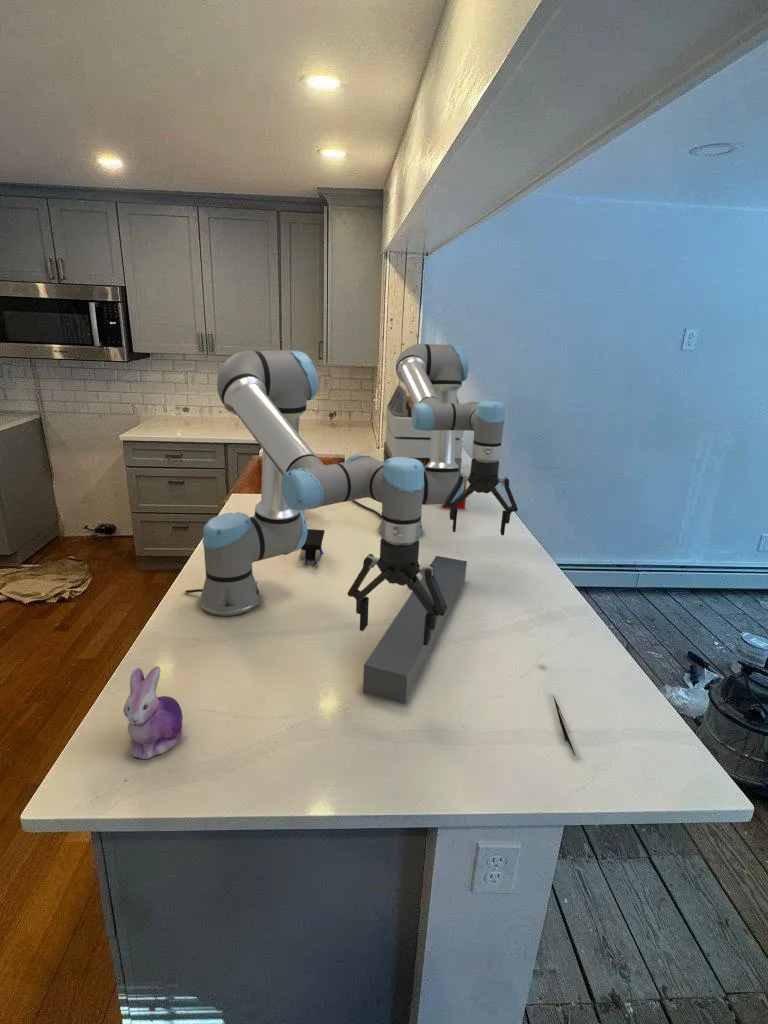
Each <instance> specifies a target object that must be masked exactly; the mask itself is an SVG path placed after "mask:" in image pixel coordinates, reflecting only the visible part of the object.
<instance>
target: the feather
mask: <svg viewBox="0 0 768 1024" xmlns="http://www.w3.org/2000/svg"><path fill="white" fill-rule="evenodd" d="M552 697H553V701H554V704H555V708H556V712H557V716H558V721H559V724H560V727H561V730H562V734H563V737H564V738H563V739H564V742H565V744H566V743H568V745H569V747H570V749H571V751H572V753H573V756H576V753H575V750H574V747H573V745H572V742H571V740H570V737H569V734H568V732H570V729H569V726H568V725H567V722H566V720H565V718H564V715H563V713H562V711H561V709H560V707H559V705H558V703H557V700H556V698H555V696H554V695H552ZM567 730H568V731H567ZM573 739H574V737H572V740H573ZM574 740H575V739H574ZM568 745H567V744H566V746H568ZM576 752H577V753H578V751H576ZM578 754H579V753H578Z"/></svg>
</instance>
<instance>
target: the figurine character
mask: <svg viewBox="0 0 768 1024" xmlns="http://www.w3.org/2000/svg"><path fill="white" fill-rule="evenodd" d="M325 531H326V530H325V529H312V528H308V532H307V538H306V541H305V543H304V545H303V546H302V548H300V555H299V561H300V562H304V566H308V563H309V562H310V563H311V562H312V563H313V566H314V567H316V566H317V564H318V562H320V561H321V557H322V556H323V555H324V551H323V539H324V536H325Z"/></svg>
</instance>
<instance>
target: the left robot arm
mask: <svg viewBox="0 0 768 1024" xmlns="http://www.w3.org/2000/svg"><path fill="white" fill-rule="evenodd" d="M318 379H319V378H318V373H317V370H316V367H315V366H314V363H313V361H312V359H311V358H310V357H309V356H308V354H307V353H305V352H303V351H299V350H288V349H281V350H279V349H278V350H246V351H245V350H244V351H243V350H242V351H240V352H237V353H235V354H233V355H231V356H230V357H229V358H227V359H226V360H225V362H224V363H223V364H222V365H221V367H220V369H219V371H218V374H217V379H216V380H217V381H216V390H217V394H218V397H219V400H220V401H221V403H222V405H223V406H224V407H225V409H226V410H227V411H228V413H230V414H232V415H234V416H237V417H238V418H239V419H240V421H241V422H242V424H243V425H244V426H245V428H246V429H247V430H248V432H249V433H250V434H251V436H252V437H253V438H254V439H255V441H256V442H257V443H258V445H259V446H260V447H261V450H262V463H261V466H262V467H261V492H260V493H261V495H260V497H261V498H260V501H259V502H257V504H256V505H255V506H254V515H253V516H249V514H247V513H244V512H226V513H222V514H219V515H217V516H214V517H212V518H210V519H209V520H208V521H207V522H206V523H205V524H204V527H203V530H202V531H203V535H202V537H203V538H202V546H203V554H204V567H205V580H204V584H203V587H202V588H199V589H188V590H187V589H186V590H185V591H184V592H185V594H190V593H200V600H199V601H200V607H201V609H202V610H203V611H204V612H206V613H207V614H210V615H213V616H218V617H233V616H239V615H243V614H246V613H249V612H251V611H253V610H254V609H256V608H257V607H258V606H259V604H260V603H261V591H260V589H259V586H258V585H259V580H256V579H255V576H254V574H253V563H255V562H259V561H262V560H263V561H264V560H267V559H271V558H274V557H280V556H287V555H289V554H291V553H294V552H297V551H299V550H301V548H302V546H303V545H304V543H305V541H306V538H307V532H308V529H309V527H308V524H307V518H306V516H305V514H304V512H303V511H304V510H305V511H306V510H315V509H318V508H322V507H326V506H330V505H335V504H341V503H345V502H346V503H347V502H350V501H351V500H355V501H357V500H361V499H367V498H369V499H371V500H374V501H376V502H378V503H380V504H381V516H382V519H381V518H380V519H381V521H380V523H381V534H380V537H381V538H380V541H379V543H380V544H379V557H375V556H374V554H373V553H369V554H368V555H366V557H365V558H364V559H363V562H362V563H363V564H362V568H361V570H360V572H359V573H358V575H357V577H356V578H355V579H354V581H353V583H352V584H351V586H350V588H349V589H348V592H347V596H348V597H350V598H353V599H355V602H356V603H355V607H356V608H355V613H356V614H357V615H359V631H361V632H364V631H365V630H366V628H367V627H368V625H369V602H370V600H369V599H370V598H369V596H368V595H369V594H370V593H371V592H372V591H373V590H375V589H376V588H377V587H378V586H379V585H380V584H382V583H383V582H384V581H385V580H386V581H387V582H388V584H396V585H399V586H407V588H408V589H409V590H410V591H411V592H414V594H415V595H416V597H417V598H418V599H419V601H420V602H421V604H422V605H423V606H424V608H425V609H426V611H427V614H426V616H425V628H424V641H423V645H426V646H427V644H428V642H429V640H430V637H431V630H434V629H435V627H436V625H437V615H440V616H443V615H444V614H445V612H446V610H447V605H446V602H445V600H444V598H443V595H442V593H441V590H440V588H439V586H438V583H437V581H436V578H435V576H434V566H433V565H431V564H429V565H428V566H424V565H423V566H422V565H420V563H419V556H420V538H421V536H420V527H421V525H422V524H421V523H422V508H423V505H422V499H423V488H424V471H425V470H424V469H425V466H423V464H422V463H421V462H420V461H419V460H417V459H413V458H407V457H393V458H389V459H387V460H386V461H385V463H384V461H381V460H379V459H377V458H375V457H373V456H370V455H364V454H352V455H351V456H349V458H347V459H345V461H344V462H338V463H337V462H336V463H331V464H324V463H323V462H322V460H321V459H320V458H319V457H318V456H317V455H316V454H315V452H314V451H313V450H312V448H310V446H309V445H308V443H306V441H305V440H304V439H303V438H302V437H301V435H300V432H299V431H300V417H301V416H302V415H304V413H305V412H306V411H307V403H308V401H311V400H313V399H314V398H315V397H316V395H317V394H318V388H319V380H318ZM351 502H352V501H351ZM302 510H303V511H302ZM375 566H377V568H378V569H379V571H380V573H379V574H378V575H377V576H376V577H375V578H374V579H372V581H370V582H369V583H368V584H367V585H365V587H364V588H363V589H361V590H360V589H359V588H360V587H361V585H362V584H363V582H364V580H365V579H366V577H367V575H368V574H369V572H370V570H371V569H373V568H374V567H375ZM419 574H420V575H421V576H422V577H423V578H425V581H426V584H427V587H428V589H429V592H430V594H431V596H432V598H431V597H430V596H429V594H428V593H427V591H426V590H425V589H424V587H423V586H422V584H421V583H420V580H421V579H420V578H419V577H418V575H419ZM422 577H421V578H422ZM432 599H433V600H432Z"/></svg>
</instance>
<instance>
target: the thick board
mask: <svg viewBox="0 0 768 1024" xmlns="http://www.w3.org/2000/svg"><path fill="white" fill-rule="evenodd" d="M430 565H433V566H434V576H435V578H436V581H437V583H438V586H439V588H440V590H441V593H442V595H443V598H444V600H445V602H446V605H447V610H446V612H445V614H444V615H443V616H440V615H437V625H436V627H435V629H434V630H431V637H430V640H429V642H428V644H427V646H426V645H423V641H424V628H425V616H426V614H427V611H426V609H425V608H424V606H423V605H422V604H421V602H420V601H419V599H418V598H417V597H416V595H415V594H414V592H413V591H411V593H410V594H409V596H408V598H407V599H406V601H405V602H404V604H403V605H402V607H401V608H400V610H399V612H398V613H397V615H396V616H395V617H394V619H393V620H392V622H391V623H390V625H389V627H388V628H387V630H386V631H385V633H383V636H381V638H380V640H379V641H378V643H377V644H376V646H375V648H374V649H373V650H372V652H371V653H370V655H369V657H368V658H367V660H366V661H365V663H364V664H363V674H362V675H363V678H362V679H363V680H362V682H363V683H362V693H363V694H366V695H370V696H374V697H377V698H381V699H385V700H389V701H393V702H397V703H400V704H403V705H406V704H407V702H408V699H409V697H410V695H411V693H412V691H413V689H414V687H415V685H416V683H417V681H418V679H419V677H420V675H421V673H422V671H423V668H424V667H425V665H426V662H427V660H428V659H429V657H430V654H431V652H432V650H433V648H434V646H435V644H436V642H437V641H438V638H439V636H440V634H441V632H442V630H443V628H444V626H445V624H446V622H447V620H448V618H449V615H451V614H450V613H451V611H452V610H453V607H454V606H455V603H456V602H457V599H458V597H459V595H460V593H461V591H462V589H463V587H464V586H465V583H466V577H467V576H466V575H467V567H468V561H467V560H463V559H458V558H457V559H456V558H451V557H446V556H440V555H436V556H435V557H434V559H433V560H432V561H431V563H430ZM419 580H420V583H421V584H422V586H423V587H424V589H425V590H426V591H427V593H428V594H429V596H430V597H431V598H432V596H431V594H430V592H429V589H428V587H427V584H426V581H425V578H423V577H421V579H419ZM432 600H433V599H432Z"/></svg>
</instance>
